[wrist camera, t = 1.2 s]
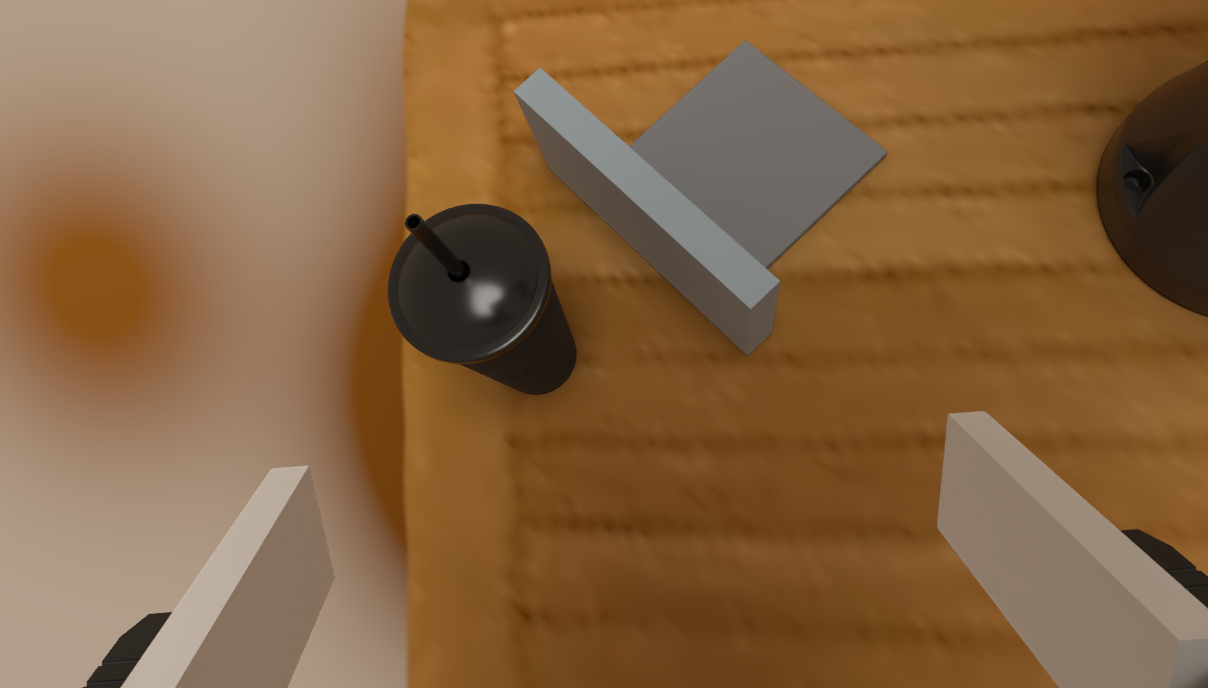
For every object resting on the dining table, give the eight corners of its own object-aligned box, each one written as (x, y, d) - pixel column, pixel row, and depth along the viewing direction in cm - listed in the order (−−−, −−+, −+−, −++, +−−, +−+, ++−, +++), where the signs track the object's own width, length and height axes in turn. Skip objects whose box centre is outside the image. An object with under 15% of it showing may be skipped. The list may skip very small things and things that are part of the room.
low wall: (571, 149, 53) (540, 67, 44) (771, 333, 47) (780, 281, 39) (549, 169, 52) (513, 91, 44) (747, 356, 47) (750, 309, 38)
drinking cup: (456, 341, 50) (286, 202, 31) (557, 275, 50) (451, 96, 31) (516, 442, 48) (372, 358, 29) (622, 372, 48) (549, 243, 29)
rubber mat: (745, 45, 53) (745, 40, 52) (886, 156, 49) (887, 151, 48) (613, 167, 52) (611, 162, 51) (747, 288, 48) (747, 285, 48)
